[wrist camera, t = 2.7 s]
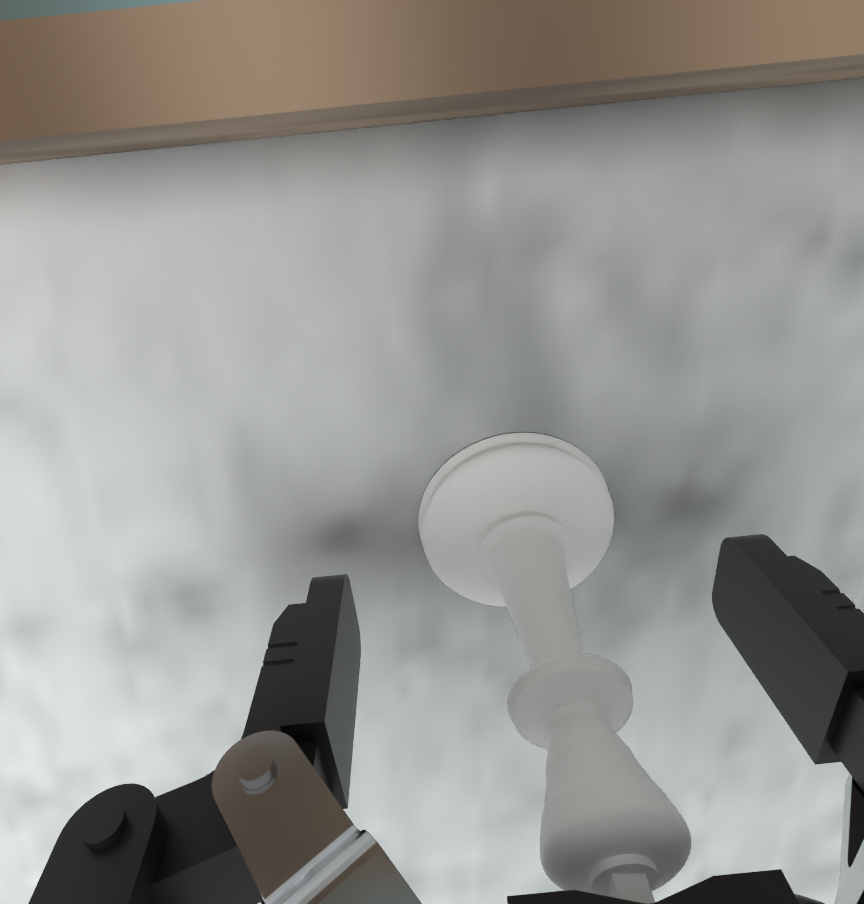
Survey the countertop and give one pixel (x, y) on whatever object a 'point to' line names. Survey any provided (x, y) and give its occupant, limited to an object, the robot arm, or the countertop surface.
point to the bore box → (380, 63)
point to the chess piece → (556, 652)
